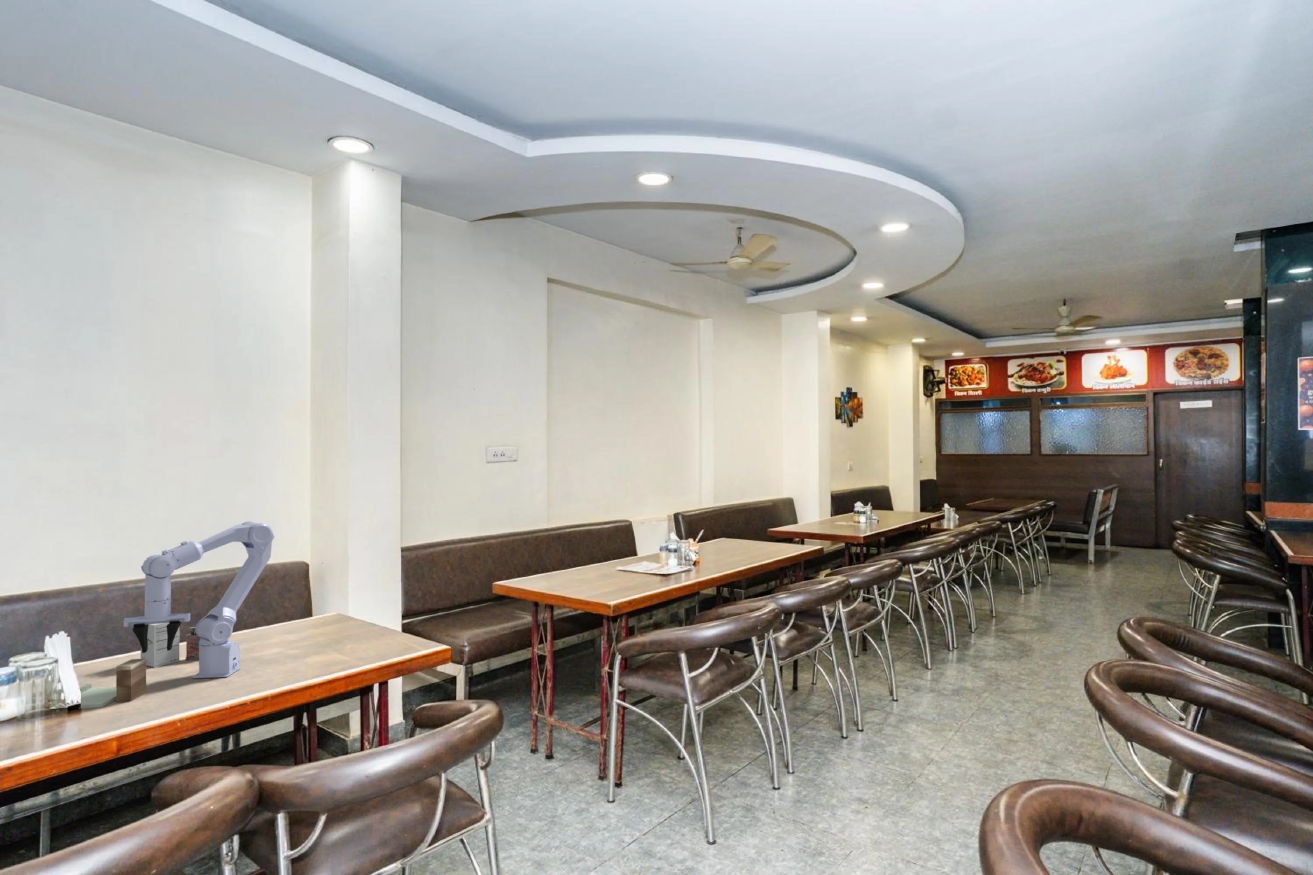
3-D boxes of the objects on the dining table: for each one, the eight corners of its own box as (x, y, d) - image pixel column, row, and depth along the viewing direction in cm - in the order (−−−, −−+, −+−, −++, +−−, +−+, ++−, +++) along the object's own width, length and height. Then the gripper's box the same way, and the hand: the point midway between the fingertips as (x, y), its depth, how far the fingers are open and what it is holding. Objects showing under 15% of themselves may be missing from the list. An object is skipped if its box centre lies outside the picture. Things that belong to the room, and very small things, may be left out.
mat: (135, 688, 184) (135, 682, 184) (101, 707, 172) (101, 699, 172) (87, 690, 183) (87, 684, 183) (49, 709, 170) (49, 702, 170)
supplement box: (139, 664, 206) (139, 622, 206) (166, 657, 212) (166, 616, 212) (153, 668, 202) (153, 624, 202) (180, 661, 209) (180, 619, 209)
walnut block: (146, 692, 181) (146, 658, 182) (131, 701, 175) (130, 665, 176) (132, 693, 181) (131, 659, 181) (116, 701, 175) (116, 666, 175)
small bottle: (183, 661, 208) (183, 628, 208) (188, 657, 212) (188, 625, 212) (214, 658, 211) (213, 625, 211) (217, 655, 214) (217, 623, 214)
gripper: (193, 594, 192) (192, 643, 192) (129, 599, 186) (128, 649, 186) (187, 599, 186) (186, 650, 185) (121, 604, 180) (120, 656, 180)
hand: (157, 650), depth 185 cm, fingers open, 5 cm apart
